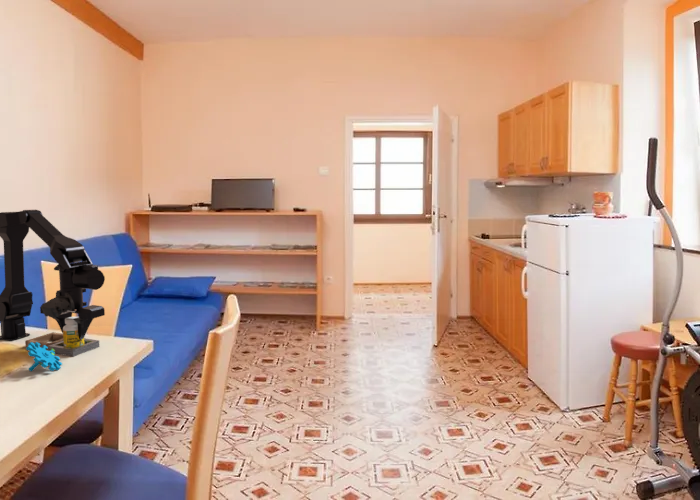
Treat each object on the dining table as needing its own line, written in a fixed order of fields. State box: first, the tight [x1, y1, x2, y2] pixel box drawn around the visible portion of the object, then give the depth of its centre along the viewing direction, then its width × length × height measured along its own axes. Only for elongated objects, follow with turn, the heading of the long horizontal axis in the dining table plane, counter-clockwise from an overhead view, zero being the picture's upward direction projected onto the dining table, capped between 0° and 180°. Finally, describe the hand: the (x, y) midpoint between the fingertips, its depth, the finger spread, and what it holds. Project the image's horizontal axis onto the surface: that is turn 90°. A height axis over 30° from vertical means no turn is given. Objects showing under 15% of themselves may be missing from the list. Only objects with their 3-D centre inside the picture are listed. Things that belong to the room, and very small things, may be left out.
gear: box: [25, 342, 63, 372], centre depth 130 cm, size 11×6×10 cm
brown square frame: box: [24, 331, 64, 351], centre depth 150 cm, size 9×9×2 cm
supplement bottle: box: [62, 316, 85, 348], centre depth 146 cm, size 5×5×10 cm
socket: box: [48, 337, 100, 358], centre depth 146 cm, size 9×9×2 cm
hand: (73, 338), depth 146 cm, fingers closed on supplement bottle, 5 cm apart
